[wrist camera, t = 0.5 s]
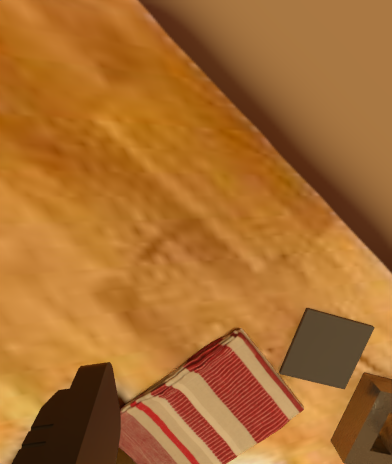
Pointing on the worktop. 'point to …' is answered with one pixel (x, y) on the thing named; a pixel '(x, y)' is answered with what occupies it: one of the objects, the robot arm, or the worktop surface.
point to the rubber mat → (326, 349)
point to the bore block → (365, 423)
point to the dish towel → (208, 407)
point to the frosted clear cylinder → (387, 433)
